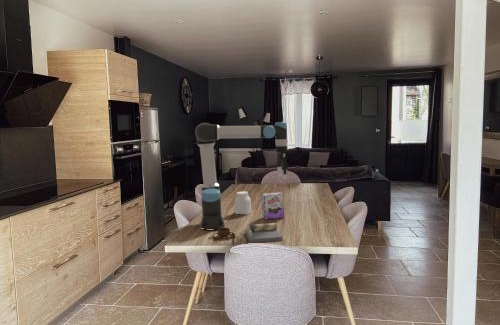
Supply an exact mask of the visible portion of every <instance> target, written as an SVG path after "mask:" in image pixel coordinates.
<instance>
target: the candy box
mask: <svg viewBox="0 0 500 325" xmlns="http://www.w3.org/2000/svg"><path fill="white" fill-rule="evenodd" d="M284 204H285V203H284V193H282V192H270V193H269V192H268V193H261V218H262V219H264V220H272V219H282V218H285V210H284V209H285V208H284Z"/></svg>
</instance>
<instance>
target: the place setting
mask: <svg viewBox="0 0 500 325" xmlns="http://www.w3.org/2000/svg"><path fill="white" fill-rule="evenodd" d="M230 233H232V234H231V235H230ZM215 234H218V235H217V236H216V237H215V236H214V235H215ZM212 236H213V237H212V238H214V239H215V238H217V239H216V240H218V239H227V240H229V239H228V238H231V239H230V240H231V241H232V243H234V244H235V239H236V233H234V232H231V228H229V227H224V228H219V229H218V230H217V232H216V233H214V234H212ZM218 236H219V237H218ZM222 237H225V238H222Z"/></svg>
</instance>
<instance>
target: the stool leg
mask: <svg viewBox="0 0 500 325" xmlns="http://www.w3.org/2000/svg"><path fill="white" fill-rule="evenodd" d="M277 226H278V224H277V223H276V222H272V223H271V222H270V223H255V224H254V223H253V224H249V226H248V227H249V228H248V229H251V231H262V230H275V229H277V230H278V227H277Z"/></svg>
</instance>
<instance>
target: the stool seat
mask: <svg viewBox="0 0 500 325" xmlns="http://www.w3.org/2000/svg"><path fill="white" fill-rule="evenodd" d="M244 234H246V235H245V237H246V239H247V241H248V243H249V244H254V243H253V242H255V243H266V242H278V241H279V242H281V241H283V236H282V234H281V233H280V232H279V231H278V228H277V229H275V230H262V231H251V229H250V228H248V229H247V230H244Z"/></svg>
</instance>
